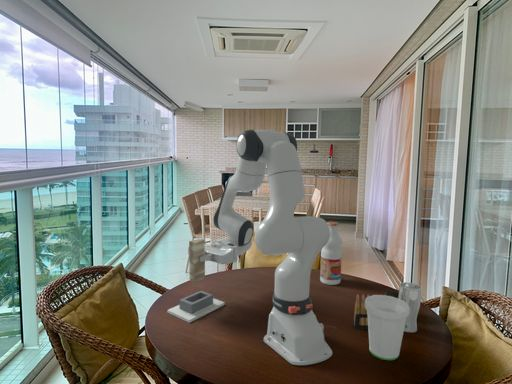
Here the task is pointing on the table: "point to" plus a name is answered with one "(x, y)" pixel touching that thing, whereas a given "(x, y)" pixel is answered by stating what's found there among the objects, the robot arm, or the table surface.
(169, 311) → the stand
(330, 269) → the fruit juice
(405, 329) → the beer glass
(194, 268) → the slat
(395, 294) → the dark grey rounded lump
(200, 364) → the table surface
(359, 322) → the ammunition clip
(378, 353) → the cup
